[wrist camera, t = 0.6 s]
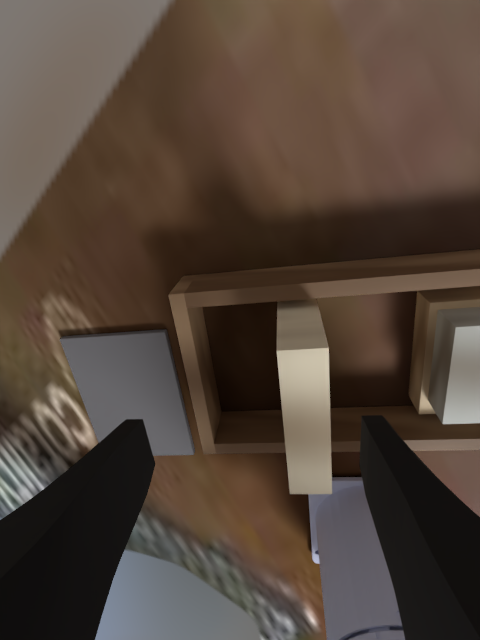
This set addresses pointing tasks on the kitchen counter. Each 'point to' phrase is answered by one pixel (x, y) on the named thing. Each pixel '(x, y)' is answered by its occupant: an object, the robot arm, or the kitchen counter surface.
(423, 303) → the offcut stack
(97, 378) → the rubber mat
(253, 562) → the kitchen counter surface
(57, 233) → the kitchen counter surface
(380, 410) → the tray
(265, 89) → the kitchen counter surface
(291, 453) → the cream flat block
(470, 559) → the robot arm
